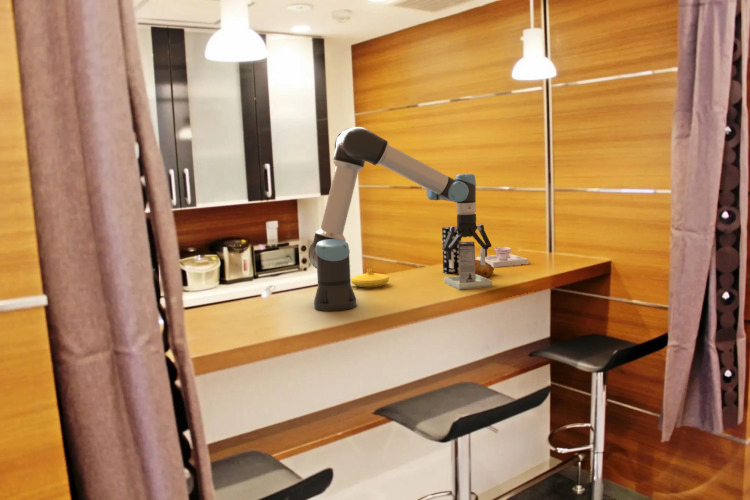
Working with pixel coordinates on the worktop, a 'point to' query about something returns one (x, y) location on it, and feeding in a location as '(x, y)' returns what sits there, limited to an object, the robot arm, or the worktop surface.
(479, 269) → the croissant
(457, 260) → the spotted tube
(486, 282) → the tray
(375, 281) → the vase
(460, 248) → the coffee box
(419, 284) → the worktop surface
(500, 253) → the teacup
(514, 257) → the saucer
